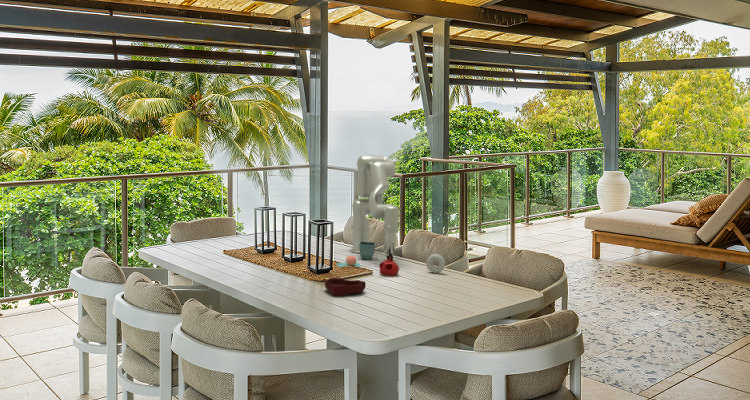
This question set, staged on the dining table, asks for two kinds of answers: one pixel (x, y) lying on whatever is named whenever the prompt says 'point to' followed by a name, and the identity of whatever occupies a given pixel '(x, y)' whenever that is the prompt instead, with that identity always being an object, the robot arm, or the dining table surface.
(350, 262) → the ball
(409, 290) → the dining table surface
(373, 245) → the flower pot
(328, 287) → the dark red shallow dish
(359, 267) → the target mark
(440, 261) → the donut
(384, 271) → the pomegranate
